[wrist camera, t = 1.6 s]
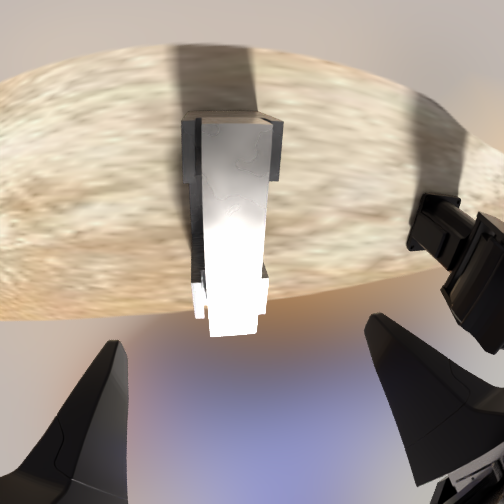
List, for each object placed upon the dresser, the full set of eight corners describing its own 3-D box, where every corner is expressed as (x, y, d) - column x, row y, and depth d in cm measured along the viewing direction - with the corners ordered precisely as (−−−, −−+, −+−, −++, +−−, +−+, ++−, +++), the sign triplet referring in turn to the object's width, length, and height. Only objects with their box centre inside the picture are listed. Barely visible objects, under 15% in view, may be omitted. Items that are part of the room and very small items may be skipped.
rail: (259, 117, 12) (273, 124, 10) (248, 302, 19) (255, 332, 17) (201, 117, 12) (201, 124, 10) (208, 305, 18) (210, 336, 16)
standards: (258, 111, 17) (283, 121, 12) (249, 260, 23) (264, 313, 18) (188, 111, 16) (181, 120, 11) (194, 263, 22) (195, 318, 17)
